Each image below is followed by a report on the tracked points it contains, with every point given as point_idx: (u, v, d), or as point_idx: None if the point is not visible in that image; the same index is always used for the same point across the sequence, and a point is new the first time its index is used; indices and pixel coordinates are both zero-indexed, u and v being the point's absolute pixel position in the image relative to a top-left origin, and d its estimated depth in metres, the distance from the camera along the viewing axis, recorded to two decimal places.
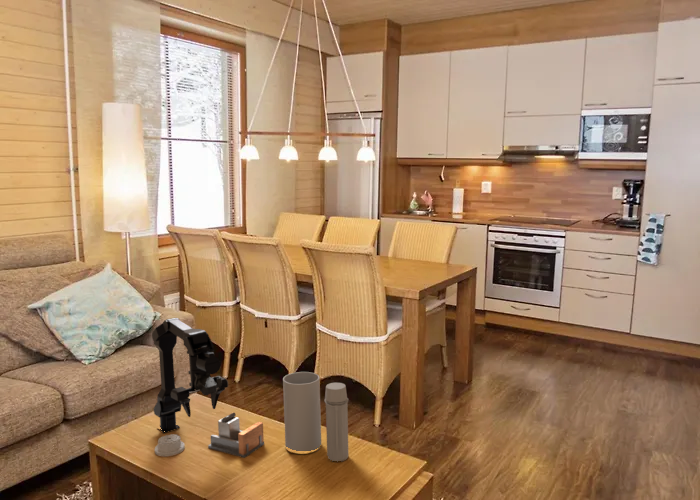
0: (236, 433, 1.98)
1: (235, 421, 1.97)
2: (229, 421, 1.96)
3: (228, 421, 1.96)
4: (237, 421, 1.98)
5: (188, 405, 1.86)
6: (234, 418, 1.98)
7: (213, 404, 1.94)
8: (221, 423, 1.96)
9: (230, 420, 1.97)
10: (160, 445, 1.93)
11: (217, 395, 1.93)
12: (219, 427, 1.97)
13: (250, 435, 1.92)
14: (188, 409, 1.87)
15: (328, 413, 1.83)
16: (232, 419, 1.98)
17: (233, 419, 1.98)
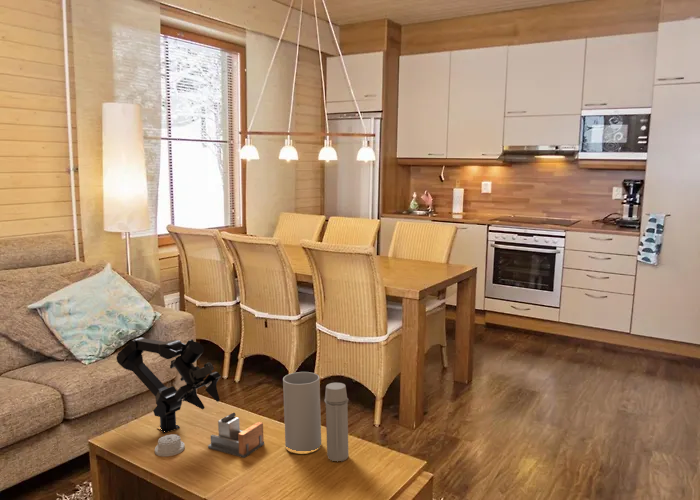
0: (236, 433, 1.98)
1: (235, 421, 1.97)
2: (229, 421, 1.96)
3: (228, 421, 1.96)
4: (237, 421, 1.98)
5: (197, 397, 1.97)
6: (234, 418, 1.98)
7: (216, 397, 2.04)
8: (221, 423, 1.96)
9: (230, 420, 1.97)
10: (160, 445, 1.92)
11: (215, 387, 2.06)
12: (219, 427, 1.97)
13: (250, 435, 1.92)
14: (199, 400, 1.97)
15: (328, 413, 1.83)
16: (232, 419, 1.98)
17: (233, 419, 1.98)
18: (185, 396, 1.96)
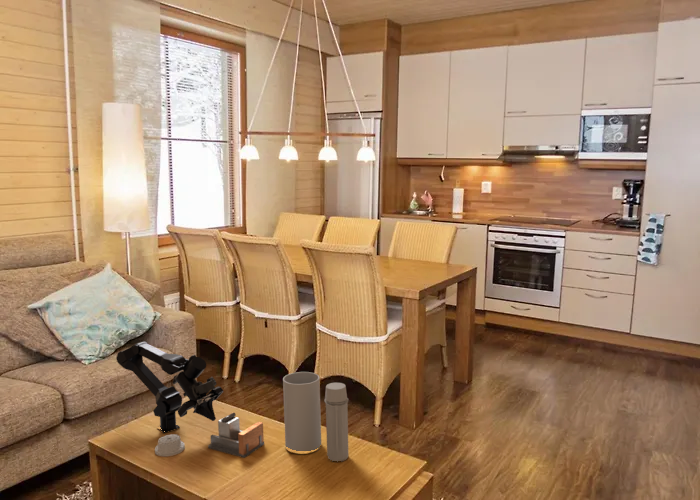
0: (236, 433, 1.98)
1: (235, 421, 1.97)
2: (229, 421, 1.96)
3: (228, 421, 1.96)
4: (237, 421, 1.98)
5: (207, 409, 2.01)
6: (234, 418, 1.98)
7: None
8: (221, 423, 1.96)
9: (230, 420, 1.97)
10: (160, 445, 1.92)
11: (210, 405, 2.03)
12: (219, 427, 1.97)
13: (250, 435, 1.92)
14: (209, 412, 2.01)
15: (328, 413, 1.83)
16: (232, 419, 1.98)
17: (233, 419, 1.98)
18: (196, 408, 2.00)
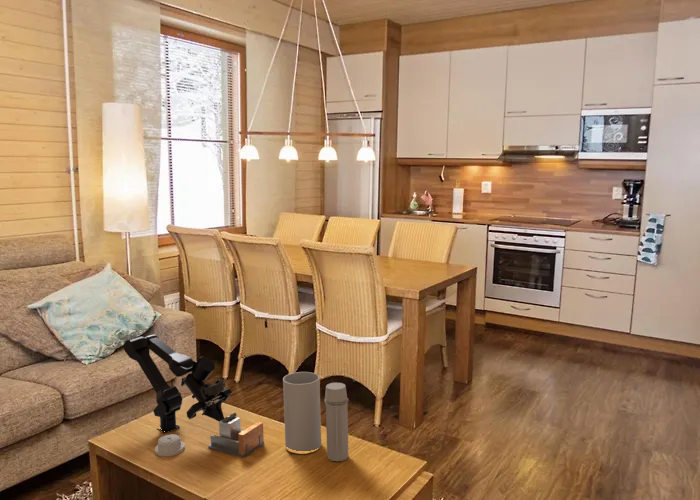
0: (237, 433, 1.98)
1: (236, 422, 1.97)
2: (230, 421, 1.96)
3: (229, 421, 1.96)
4: (238, 421, 1.98)
5: (216, 411, 1.99)
6: (235, 418, 1.98)
7: None
8: (222, 423, 1.96)
9: (231, 420, 1.97)
10: (160, 445, 1.92)
11: (219, 407, 2.01)
12: (220, 427, 1.96)
13: (250, 435, 1.92)
14: (218, 414, 1.99)
15: (328, 413, 1.83)
16: (233, 419, 1.97)
17: (234, 419, 1.97)
18: (204, 410, 1.98)
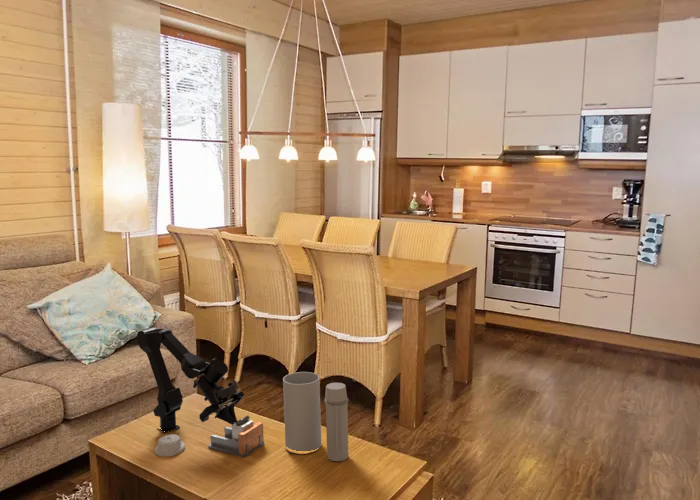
0: None
1: (249, 425, 1.94)
2: (243, 424, 1.93)
3: (242, 424, 1.93)
4: (251, 424, 1.95)
5: (229, 413, 1.96)
6: (248, 421, 1.95)
7: None
8: (235, 426, 1.93)
9: (244, 423, 1.94)
10: (160, 445, 1.92)
11: (232, 410, 1.98)
12: (233, 430, 1.94)
13: (250, 435, 1.92)
14: (231, 417, 1.96)
15: (328, 413, 1.83)
16: (246, 422, 1.95)
17: (247, 422, 1.95)
18: (217, 413, 1.95)
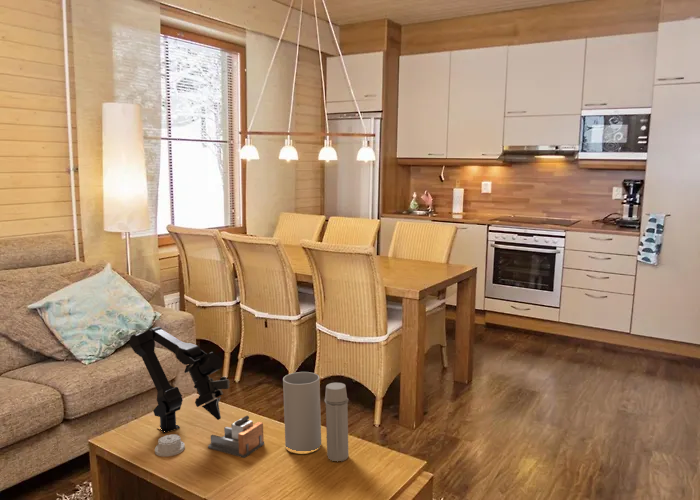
0: None
1: (249, 425, 1.95)
2: (243, 424, 1.93)
3: (242, 424, 1.93)
4: (251, 424, 1.95)
5: (217, 406, 2.00)
6: (247, 421, 1.96)
7: None
8: (234, 426, 1.93)
9: (244, 423, 1.94)
10: (160, 445, 1.92)
11: (218, 404, 2.02)
12: (232, 430, 1.94)
13: (250, 435, 1.92)
14: (218, 410, 2.00)
15: (328, 413, 1.83)
16: (246, 422, 1.95)
17: (247, 422, 1.95)
18: (208, 402, 1.97)
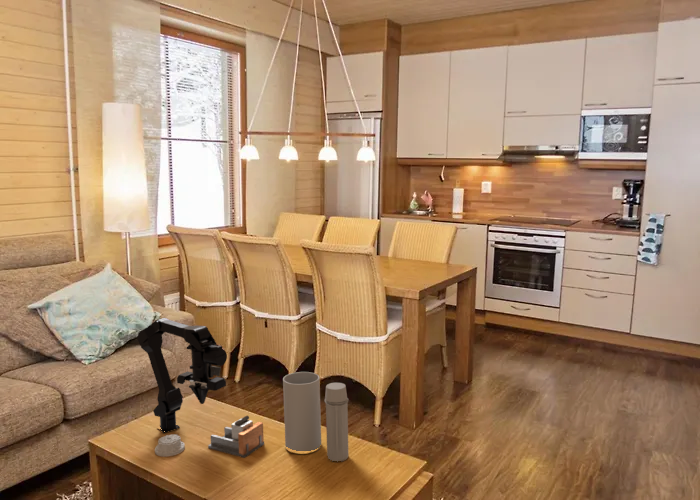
0: None
1: (249, 425, 1.95)
2: (243, 424, 1.93)
3: (242, 424, 1.93)
4: (251, 424, 1.95)
5: None
6: (247, 421, 1.96)
7: None
8: (234, 426, 1.93)
9: (244, 423, 1.94)
10: (160, 445, 1.92)
11: None
12: (232, 430, 1.94)
13: (250, 435, 1.92)
14: None
15: (328, 413, 1.83)
16: (246, 422, 1.95)
17: (247, 422, 1.95)
18: None
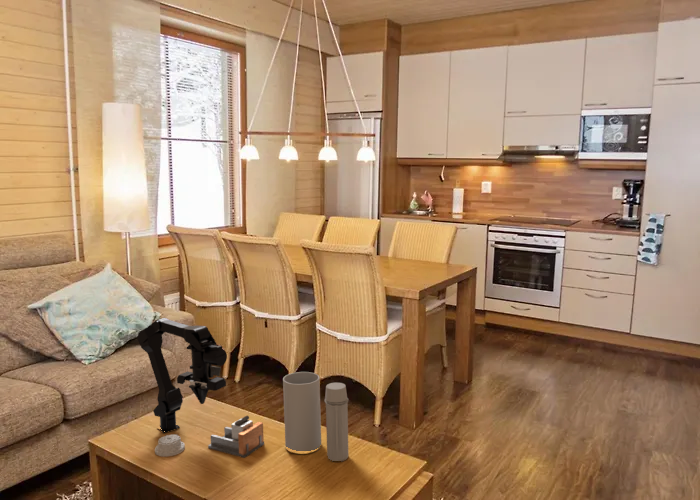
0: None
1: (249, 425, 1.95)
2: (243, 424, 1.93)
3: (242, 424, 1.93)
4: (251, 424, 1.95)
5: None
6: (247, 421, 1.96)
7: None
8: (234, 426, 1.93)
9: (244, 423, 1.94)
10: (160, 445, 1.92)
11: None
12: (232, 430, 1.94)
13: (250, 435, 1.92)
14: None
15: (328, 413, 1.83)
16: (246, 422, 1.95)
17: (247, 422, 1.95)
18: None
